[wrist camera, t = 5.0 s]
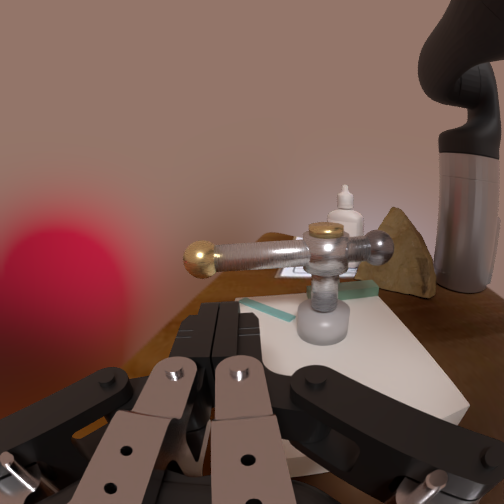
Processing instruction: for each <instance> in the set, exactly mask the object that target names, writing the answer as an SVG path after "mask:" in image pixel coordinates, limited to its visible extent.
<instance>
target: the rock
mask: <svg viewBox="0 0 504 504" xmlns="http://www.w3.org/2000/svg"><path fill="white" fill-rule="evenodd" d="M378 230H382V231H384V232H386V233H387V234H389V235H390V237H391V238H392V240H393V243H394V253H393V256H392V258H391V259H390V260H389V261H388V262H387V263H385V264H383V265H380V266H375V265H371V264H369V263H368V262H366V261H362V262H361V263H360V265H359V266H358V269H357V273H356V275H355V277H354V279H355V280H361V281H364V280H373V281H374V282H375V283H376V284H377V285H378V286H379V288H381V289H385V290H390V291H396V292H400V293H403V294H412V295H415V296H419V297H423V298H431V297H432V296H434V295H435V293H436V274H435V271H434V267H433V259H432V257H431V255H430V253H429V251H428V249H427V246H426V244H425V242H424V240H423V237H422V236H421V234H420V233H419V232H418V231H417V230H416V228H415V227H414V225H413V224H412V223H411V221H410V220H409V219H408V217H407V216H406V215H405V213H404V212H403V211H402V210H401V209H399V208H395V207H392V208H391V209H390V211H389V213H388V214H387V216H386V217H385V218H384V220H383V222H382V224H381V225H380V226H379V228H378Z"/></svg>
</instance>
